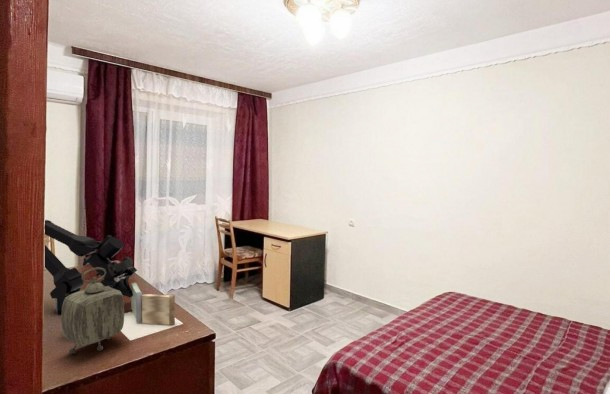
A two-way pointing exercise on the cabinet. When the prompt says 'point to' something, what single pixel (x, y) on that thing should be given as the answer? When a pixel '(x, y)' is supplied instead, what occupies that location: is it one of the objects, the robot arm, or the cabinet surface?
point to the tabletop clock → (92, 313)
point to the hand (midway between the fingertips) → (131, 296)
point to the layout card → (141, 327)
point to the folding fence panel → (136, 302)
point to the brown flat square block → (158, 309)
